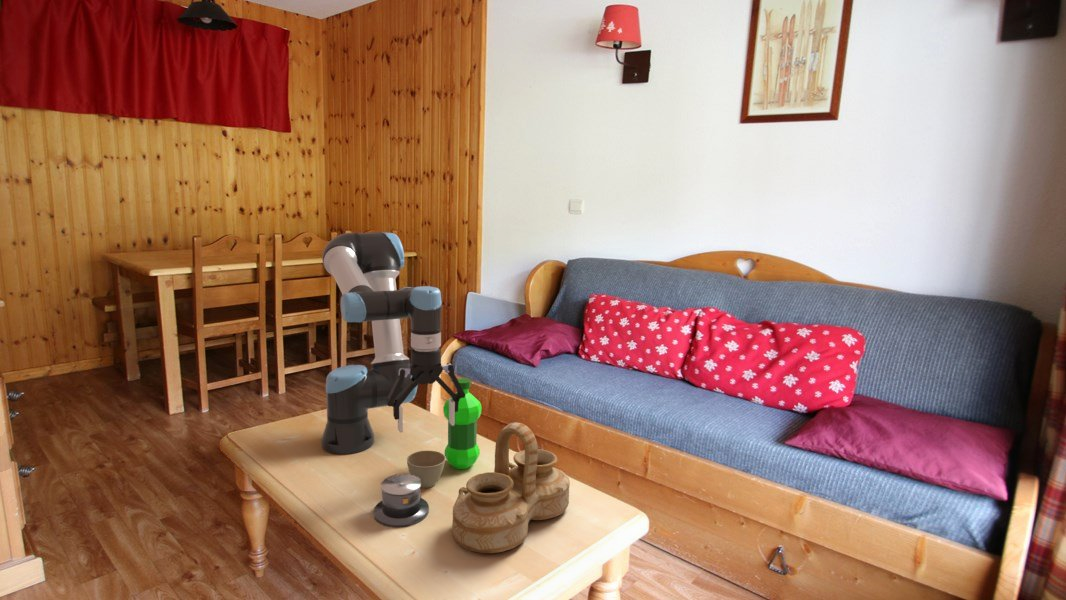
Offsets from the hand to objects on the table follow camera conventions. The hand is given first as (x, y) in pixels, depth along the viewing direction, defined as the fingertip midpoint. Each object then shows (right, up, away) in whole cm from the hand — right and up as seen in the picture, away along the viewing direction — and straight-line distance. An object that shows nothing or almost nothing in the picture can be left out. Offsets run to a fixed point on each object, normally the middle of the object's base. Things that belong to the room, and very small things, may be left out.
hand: (426, 427), depth 159 cm
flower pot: (-1, -16, +3) cm, 16 cm away
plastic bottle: (+8, -14, +14) cm, 21 cm away
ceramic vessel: (+23, -20, -12) cm, 33 cm away
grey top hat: (-4, -18, -11) cm, 22 cm away
